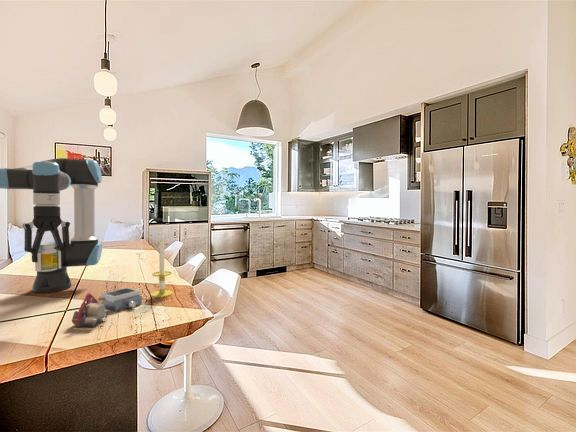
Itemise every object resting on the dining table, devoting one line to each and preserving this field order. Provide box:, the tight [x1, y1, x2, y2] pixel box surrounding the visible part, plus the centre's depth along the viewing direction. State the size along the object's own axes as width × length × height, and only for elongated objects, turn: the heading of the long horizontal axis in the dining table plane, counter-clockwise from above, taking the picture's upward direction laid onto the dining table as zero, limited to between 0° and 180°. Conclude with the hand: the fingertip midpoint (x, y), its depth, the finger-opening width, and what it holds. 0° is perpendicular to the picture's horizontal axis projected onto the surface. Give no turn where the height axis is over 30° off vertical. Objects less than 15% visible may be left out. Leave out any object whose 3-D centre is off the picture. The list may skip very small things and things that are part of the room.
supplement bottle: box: [38, 242, 57, 272], centre depth 108 cm, size 5×5×10 cm
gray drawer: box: [101, 286, 143, 313], centre depth 125 cm, size 15×11×6 cm
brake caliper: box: [71, 292, 111, 331], centre depth 106 cm, size 11×11×12 cm
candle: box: [150, 238, 174, 298], centre depth 141 cm, size 10×10×27 cm
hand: (48, 269), depth 108 cm, fingers closed on supplement bottle, 5 cm apart
